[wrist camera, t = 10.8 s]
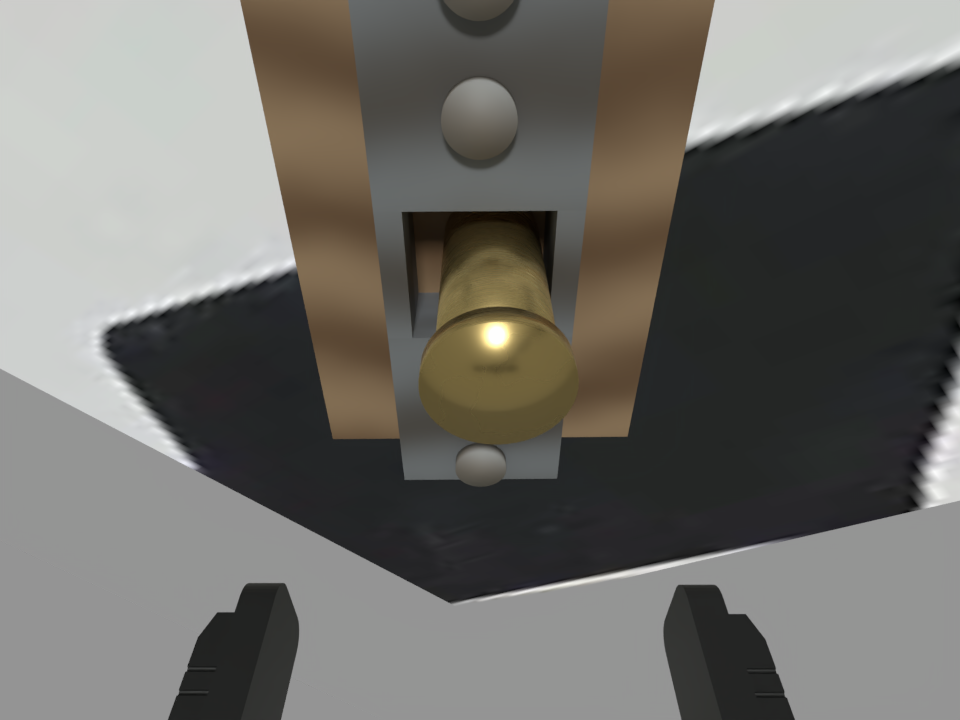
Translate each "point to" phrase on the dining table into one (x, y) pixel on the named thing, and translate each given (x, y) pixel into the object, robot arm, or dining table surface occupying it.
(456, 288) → the pin
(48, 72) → the dining table surface
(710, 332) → the dining table surface
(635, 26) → the board
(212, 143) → the dining table surface
